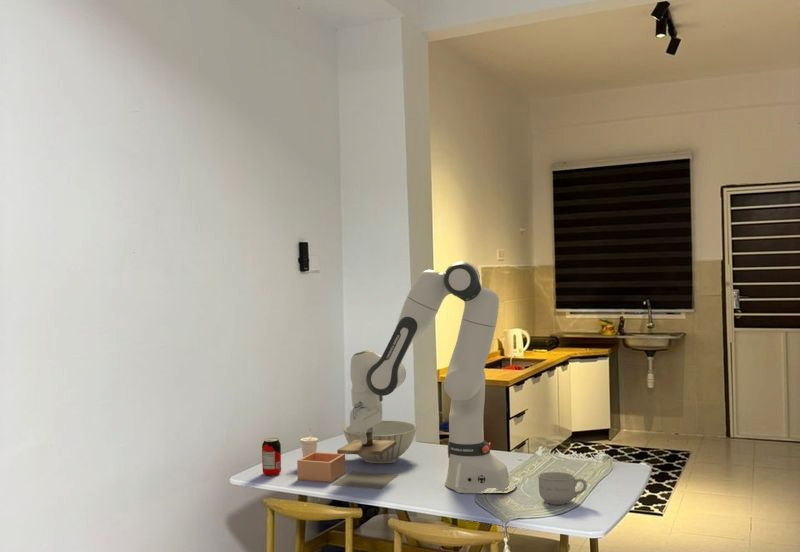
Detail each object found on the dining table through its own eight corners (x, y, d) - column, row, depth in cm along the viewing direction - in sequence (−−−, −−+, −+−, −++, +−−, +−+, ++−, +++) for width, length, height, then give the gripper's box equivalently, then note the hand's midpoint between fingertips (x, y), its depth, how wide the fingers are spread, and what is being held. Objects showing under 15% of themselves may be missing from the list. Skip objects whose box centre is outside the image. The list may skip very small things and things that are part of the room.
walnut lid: (396, 444, 239) (395, 428, 239) (380, 455, 225) (380, 438, 225) (355, 443, 244) (354, 428, 244) (337, 453, 230) (336, 437, 230)
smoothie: (315, 468, 252) (314, 429, 252) (298, 468, 253) (297, 428, 253) (320, 464, 258) (320, 425, 258) (304, 463, 260) (303, 425, 260)
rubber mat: (398, 476, 240) (398, 474, 240) (381, 491, 224) (381, 489, 224) (352, 472, 245) (352, 471, 245) (331, 486, 229) (331, 485, 229)
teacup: (532, 504, 209) (532, 476, 209) (547, 494, 218) (546, 468, 218) (579, 511, 201) (578, 483, 201) (591, 501, 210) (591, 474, 210)
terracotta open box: (345, 474, 244) (345, 454, 244) (330, 484, 232) (330, 462, 232) (313, 472, 248) (313, 451, 248) (297, 481, 236) (297, 460, 236)
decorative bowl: (391, 474, 243) (391, 438, 243) (329, 464, 257) (328, 431, 258) (430, 456, 266) (429, 424, 266) (370, 448, 280) (370, 417, 280)
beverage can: (285, 473, 247) (284, 438, 247) (272, 477, 242) (271, 442, 242) (271, 470, 250) (271, 436, 250) (258, 475, 245) (258, 440, 245)
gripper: (362, 405, 224) (364, 449, 224) (384, 394, 243) (386, 435, 243) (343, 405, 226) (346, 449, 226) (367, 394, 245) (369, 435, 245)
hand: (367, 441), depth 235 cm, fingers closed on walnut lid, 4 cm apart
